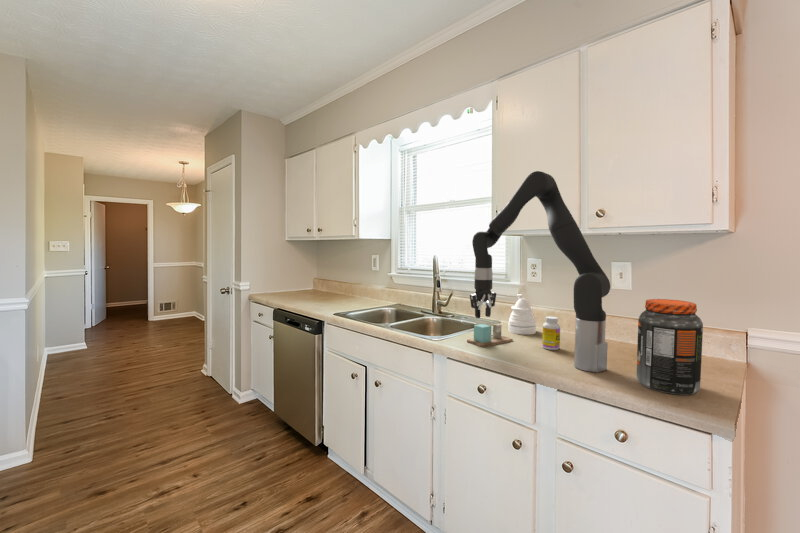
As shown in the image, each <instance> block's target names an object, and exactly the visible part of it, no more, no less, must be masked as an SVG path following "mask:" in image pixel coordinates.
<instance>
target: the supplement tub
mask: <svg viewBox="0 0 800 533" xmlns="http://www.w3.org/2000/svg"><path fill="white" fill-rule="evenodd" d="M644 308H645V310H643V311H642V312H641V313H640V315H639V317H638V319H637V320H638V323H637V347H636V348H637V352H636V379H637V381H638V382H639V383H640V384H641V385H643V386H644V387H646V388H648V389H651V390H653V391H658V392H660V393H664V394H665V393H666V394H673V395H679V396H680V395H681V396H683V395H684V396H686V395H687V396H688V395H693V394H696V393H697V392H699V391H700V388H701V376H702V357H703V356H702V355H703V336H704V335H703V334H704V333H703V332H704V323H703V321H702V319H701V317H699V316H698V315H697V314H696V313H697V311H698V310H697V304H696V303H695V302H693V301H692V302H691V301H686V300H679V299H669V298H665V299H664V298H653V299H646V300H645V305H644Z"/></svg>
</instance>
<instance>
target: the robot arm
mask: <svg viewBox="0 0 800 533" xmlns="http://www.w3.org/2000/svg"><path fill="white" fill-rule="evenodd" d="M561 194H562V193H561V192H560V190H559V187H558V184H557V182H556V180H555V178H554V177H553V176H552V175H551V174H549V173H546V172H544V171H540V170H536V171H532V172H531V173H529V175H528V176H527V177H526V178H525V179H524V181H523V182H522V183H521V185H520V186H519V188H518V189H517V191H516V192H515V193H514V194H513V196H512V197H511V199H509V201H508V202H507V204H506V205H505V206H504V207H503V208H502V209H501V210H500V211H499V212H498V213H497V214H496V215H495V216H494V217H493V218H492V219H491V221H490V222H489V223H488V229H487V230H486V231H477V232H476V233H474V235H473V237H472V242H471V243H472V248H473V249H472V250H473V253H474V257H475V259H474V260H475V267H474V268H475V269H474V290H475V292H474V293H470V294H469V300H470V301H469V302H470V306H471V308H472V309H474V317H475V318H476V319H480V318H481V309H482V308H481V307H482V305H483V304H484V306H485V313H484V314H485V317H487V318H490V317H491V312H492V311H491V310H492V307H495V305H496V298H497V293H496V292H492V289H493V256H492V255H491V254H489V248H492V247H493V246H495V244H496V243H498V241H499V240H500V238H501V236H502V235H503V233H505V232H506V231H507V230H508V229H509V228H510V227H511V226H512V225H513V224H514V222H515V221H516V220H517V219H518V216H519V215H520V212H521V211H522V210H523V208H524V207H525V206H526V205H527V203H528V202H530V201H531V200H533V199H534V198H537V199H538V201H539V202H540V203H541V206H542V207H543V208H544V210H545V212H546V217H547V218H546V219H547V226H548V230H549V232H550V235H551V236H552V239H553V241H554V243H555V245H556V247H557V248H558V249H559V250H560V251H561V253H562V254H563V255H565V257H566V258H567V259H568V260H569V261H570V262H571V263H572V265H573V266H574V267H575V269H576V271H577V273H578V275H579V276H577V277H576V279H574V280H575V281H574V283H573V310H574V312H575V331H574V332H575V333H574V361H573V362H574V365H573V366H574V367H575V368H576V369H578V370H582V371H585V372H591V373H597V374H598V373H600V372H603V371H607V369H608V346H609V345H608V342H607V341H606V324H607V322H606V321H607V313H606V311H604V309H603V298H605V297H606V296H608V294H609V293H610V290H611V282H610V279H609V278H608V276H607V275H606V273H605V271H604V270H603V269H602V268H601V266H600V264H599V263H598V262H597V260H596V259H595V256H594V255H593V253H592V250H591V248H590V247H589V245H588V243H587V241H586V239H585V238H584V236H583V233H582V231H581V229H580V227H579V225H578V224H577V222H576V220H575V219H574V216H573V215H572V213H571V211H570V209H569V208H568V206H567V205H566V203H565V201H564V199H563V197H562V195H561Z"/></svg>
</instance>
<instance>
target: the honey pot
mask: <svg viewBox="0 0 800 533" xmlns="http://www.w3.org/2000/svg"><path fill="white" fill-rule="evenodd" d="M516 298H517V299H518V300H517V301H516V302H515V304H514V305H512V306H511V307H510V309H511V313H510V316H509V319H508V326H507V327H508V328H507V329H508V330H507V331H508V332H509V333H512V334H516V335H517V334H518V335H533V334H536V333H537V321H536V320H535V315H534V313H533V307H532V306H531V305H530V303H529V302H528V300H527V298H525V297H523V294H519V293H517V294H516Z"/></svg>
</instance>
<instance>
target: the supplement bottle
mask: <svg viewBox="0 0 800 533" xmlns="http://www.w3.org/2000/svg"><path fill="white" fill-rule="evenodd" d="M558 322H559V317H557V316H549V315H548V316H545V322H543V324H542V344H541V345H542V348H543V349H544V350H549V351H557V350H558V351H559V349H560V347H561V345H560V344H561V342H560V341H561V325H560V323H558Z"/></svg>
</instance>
